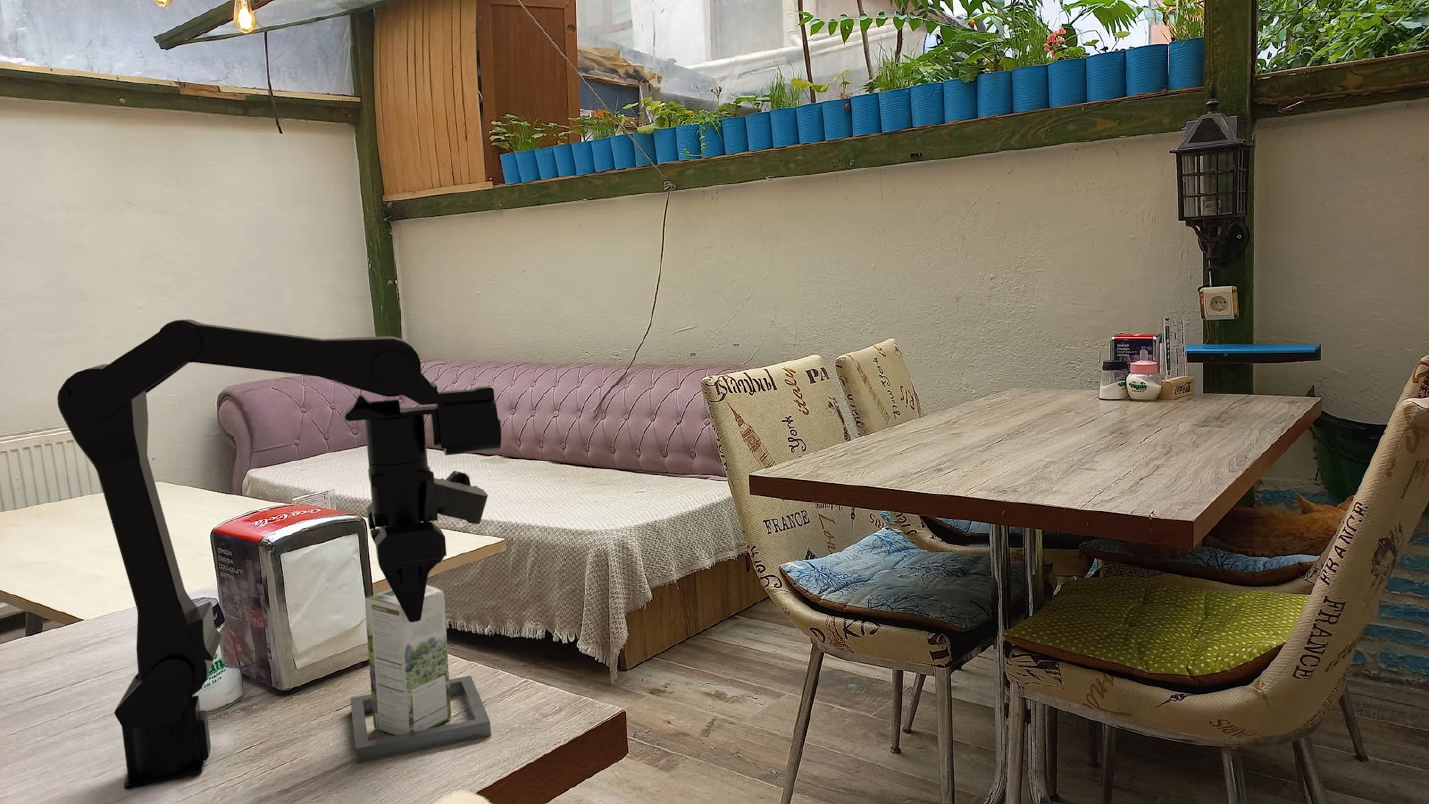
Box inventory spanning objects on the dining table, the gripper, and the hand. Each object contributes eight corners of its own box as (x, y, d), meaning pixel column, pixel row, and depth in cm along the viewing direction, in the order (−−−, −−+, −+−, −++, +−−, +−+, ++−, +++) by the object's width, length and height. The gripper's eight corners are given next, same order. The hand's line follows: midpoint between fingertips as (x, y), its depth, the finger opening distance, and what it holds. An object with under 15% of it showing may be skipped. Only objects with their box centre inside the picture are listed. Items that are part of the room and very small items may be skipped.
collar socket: (356, 763, 94) (355, 749, 94) (351, 711, 106) (350, 698, 106) (491, 735, 99) (490, 721, 99) (471, 688, 111) (470, 675, 111)
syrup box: (416, 708, 106) (405, 580, 104) (454, 719, 103) (444, 587, 101) (373, 729, 101) (361, 595, 99) (411, 742, 98) (400, 604, 96)
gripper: (493, 466, 93) (504, 622, 95) (465, 439, 110) (474, 572, 112) (371, 479, 89) (386, 642, 91) (361, 449, 106) (373, 587, 108)
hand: (410, 607), depth 101 cm, fingers open, 9 cm apart
